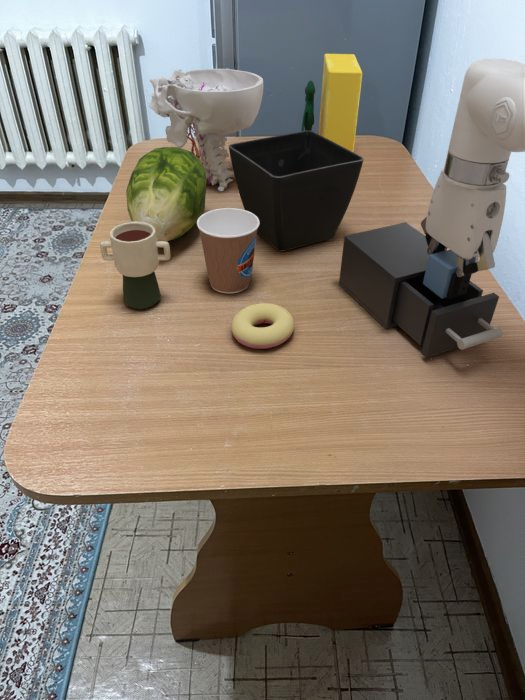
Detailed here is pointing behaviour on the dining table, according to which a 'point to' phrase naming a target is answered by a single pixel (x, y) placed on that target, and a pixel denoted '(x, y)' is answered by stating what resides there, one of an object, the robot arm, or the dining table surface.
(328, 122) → the yellow and green pieces
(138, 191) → the lettuce
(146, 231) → the character mug
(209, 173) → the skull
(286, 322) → the donut
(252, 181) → the flower pot
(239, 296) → the dining table surface
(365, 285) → the dark grey drawer cabinet
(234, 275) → the coffee cup
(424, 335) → the dark grey drawer
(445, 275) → the block
